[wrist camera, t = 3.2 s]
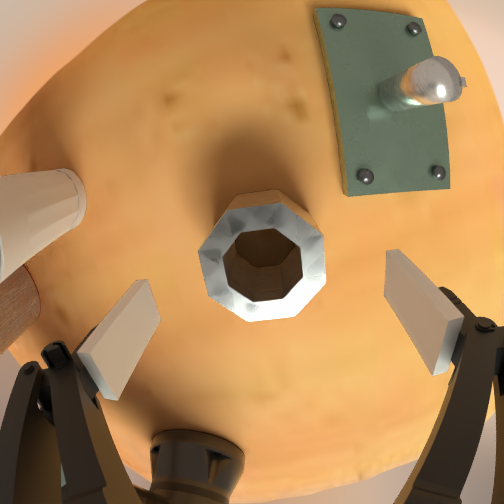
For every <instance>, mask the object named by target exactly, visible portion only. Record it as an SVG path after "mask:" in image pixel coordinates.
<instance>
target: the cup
mask: <svg viewBox="0 0 504 504" xmlns="http://www.w3.org/2000/svg"><path fill="white" fill-rule="evenodd" d="M86 205H87V198H86V192H85V188H84V185H83V183H82V181H81V180H80V178H79V177H78V176H77V174H75V173H74V172H73V171H71V170H69V169H66V168H61V169H56V170H48V171H38V172H28V173H20V174H12V175H5V176H0V283H1V282H2V281H4V280H5V279H6V278H7V277H8V276H9V275H11V274H12V273H13V272H14V271H15V270H16V269H18V268H19V267H20V266H21V265H23V264H24V263H25V262H26V261H28V260H29V259H30V258H32V257H33V256H34V255H36V254H37V253H38V252H40V251H41V250H42V249H44V248H45V247H46V246H48V245H49V244H50V243H52V242H53V241H55V240H56V239H57V238H59V237H60V236H62V235H63V234H65V233H66V232H68V231H69V230H71V229H73V228H75V227H76V226H78V225H79V224H80V222H81V221H82V219H83V217H84V215H85V212H86Z"/></svg>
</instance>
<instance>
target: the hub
mask: <svg viewBox="0 0 504 504" xmlns="http://www.w3.org/2000/svg"><path fill="white" fill-rule="evenodd" d="M270 228H275V229H276V230H278V231H279V232H281V233H282V234H283V235H285V236H286V237H287V238H289V239H290V240H291V241H293V242H294V243H295V247H294V248H293V250H292V251H291V252H290V253H289V254H288V256H287V257H286V258H285V259H284V260H283V262H282V263H281V264H280V265H273V266H265V267H257V268H256V267H255V266H253V265H252V264H250V263H249V262H248V261H246V260H245V259H243V258H242V257H240V256H239V255H237V252H236V247H235V240H236V238H237V237H238V236H239V234H240V233H241V232H248V231H255V230H263V229H270ZM198 254H199V259H200V263H201V267H202V271H203V276H204V280H205V284H206V288H207V292H208V296H209V297H210V298H212V299H213V300H215V301H217V302H218V303H220V304H221V305H223V306H224V307H226V308H227V309H229V310H230V311H232V312H234V313H235V314H237V315H238V316H240V317H241V318H243V319H245V320H246V321H257V320H266V319H276V318H284V317H292V316H295V315H296V314H297V313H298V312H299V311H300V310H301V309H302V308H303V307H304V306H305V305H306V304H307V302H308V301H309V300H310V299H311V298H312V297H313V296H314V295H315V294H316V293H317V292H318V291H319V290H320V288H321V287H322V286H323V285H324V284H325V283H326V272H325V255H324V241H323V234H322V233H321V231H320V229H319V228H318V226H317V225H316V223H315V221H314V220H313V218H312V217H311V215H310V214H309V213H308V212H307V211H306V210H304V209H303V208H302V207H300V206H299V205H298V204H297V203H295V202H294V201H293V200H291V199H290V198H289V197H287V196H286V195H285V194H284V193H282V192H281V191H280V190H278V189H274V190H266V191H259V192H252V193H245V194H238V195H236V196H235V198H234V199H233V200H232V202H231V203H230V205H229V206H228V207H227V209H226V210H225V212H224V213H223V214H222V216H221V217H220V218H219V220H218V221H217V223H216V224H215V225H214V227H213V228H212V230H211V232H210V233H209V235H208V236H207V238H206V239H205V241H204V242H203V244H202V245H201V247H200V249H199V250H198Z"/></svg>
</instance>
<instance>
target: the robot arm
mask: <svg viewBox="0 0 504 504" xmlns="http://www.w3.org/2000/svg"><path fill="white" fill-rule="evenodd" d="M384 297H385V298H386V300H387V301H388V303H389V304H390V306H391V308H392V309H393V311H394V312H395V314H396V315H397V317H398V319H399V320H400V322H401V323H402V325H403V327H404V328H405V330H406V332H407V333H408V335H409V337H410V338H411V340H412V342H413V343H414V345H415V347H416V348H417V350H418V352H419V354H420V355H421V357H422V359H423V361H424V362H425V364H426V366H427V368H428V370H429V371H430V373H431V375H432V376H434V375H438V374H441V373H444V372H447V371H448V368H449V365H450V362H451V361H452V363H453V364H454V366H455V369H454V371H453V374H452V376H451V379H450V381H449V384H448V385H449V387H448V390H447V393H446V396H445V399H444V401H443V404H442V407H441V410H440V412H439V415H438V417H437V420H436V422H435V425H434V427H433V429H432V432H431V434H430V436H429V439H428V441H427V443H426V445H425V447H424V449H423V451H422V453H421V455H420V457H419V459H418V461H417V463H416V465H415V467H414V469H413V471H412V473H411V475H410V476H409V478H408V480H407V482H406V484H405V485H404V487H403V489H402V490H401V492H400V494H399V495H398V497H397V499H396V500H395V502H394V503H393V504H461V503H462V500H461V499H460V494H461V491H462V489H463V486H464V484H465V481H466V478H467V476H468V474H469V471H470V468H471V465H472V462H473V460H474V457H475V454H476V451H477V447H478V444H479V441H480V437H481V433H482V430H483V426H484V422H485V418H486V414H487V409H488V404H489V399H490V394H491V388H492V382H493V385H494V395H495V409H496V438H497V439H496V466H495V478H494V488H493V495H492V502H491V504H504V326H502V327H497V325H496V324H495V322H493V321H492V320H491V319H488V318H485V317H476V316H475V315H474V314H473V313H472V312H471V311H470V310H469V309H468V308H467V306H466V305H465V304H464V303H462V301H461V300H460V299H459V298H457V296H456V295H455V294H454V293H453V292H452V291H450V290H448V289H447V288H445V287H439V288H438V287H437V286H436V285H435V284H434V283H433V282H432V281H431V280H430V279H429V278H428V277H427V276H426V275H425V274H424V273H423V272H422V271H421V270H420V269H419V268H418V267H417V266H416V265H415V264H414V263H413V262H412V261H411V260H410V259H408V258H407V257H406V256H405V255H404V254H403V253H402V252H401V251H400V250H399V249H396V250H389V251H386V270H385V288H384ZM160 321H161V317H160V315H159V312H158V309H157V306H156V303H155V300H154V297H153V294H152V291H151V288H150V285H149V282H148V279H144V280H136V281H135V282H134V283H133V285H132V286H131V287H130V288H129V289H128V290H127V292H126V293H125V294H124V295H123V296H122V297H121V299H120V300H119V301H118V302H117V303H116V304H115V306H114V307H113V308H112V309H111V310H110V312H109V313H108V314H107V315H106V316H105V318H104V319H103V320H102V321H101V322H100V324H98V325H97V326H96V327H94V328H93V329H92V330H91V331H90V332H89V333H88V335H87V337H85V338H84V340H83V342H81V343H80V345H79V346H78V347H77V348H76V350H75V351H74V352H73V353H72V355H71V354H70V353H69V351H68V349H67V347H66V345H65V343H64V342H62V341H55V342H52V343H50V344H48V345H47V346H46V347H45V348H44V349H43V350H42V352H41V356H42V358H43V359H44V361H45V363H46V364H47V366H48V367H49V368H48V369H42V368H41V367H40V365H39V364H38V362H36V361H31V362H27V363H26V364H24V365H23V366H22V368H21V369H20V370H19V373H18V375H17V378H16V381H15V384H14V387H13V389H12V393H11V395H10V398H9V402H8V405H7V408H6V411H5V415H4V419H3V422H2V426H1V430H0V504H229V499H230V496H231V494H232V492H233V490H234V489H235V487H236V485H237V483H238V481H239V479H240V477H241V475H242V473H243V471H244V464H245V456H244V454H243V452H242V451H241V450H240V449H239V448H238V447H237V446H235V445H234V444H232V443H230V442H228V441H226V440H224V439H221V438H219V437H216V436H213V435H209V434H206V433H201V432H196V431H189V430H168V431H163V432H160V433H158V434H157V435H156V436H155V437H154V439H153V442H152V445H151V447H150V460H151V473H152V483H151V487H150V490H149V491H148V490H146V489H143V488H141V487H139V486H137V485H134V484H132V482H131V480H130V479H129V476H128V474H127V472H126V470H125V468H124V465H123V463H122V461H121V459H120V456H119V454H118V451H117V449H116V447H115V444H114V442H113V439H112V436H111V434H110V431H109V428H108V426H107V423H106V420H105V417H104V414H103V411H102V408H101V405H100V402H99V400H98V398H97V397H96V393H97V392H98V390H99V391H100V392H101V394H102V395H103V397H104V398H105V399H111V400H118V399H119V397H120V395H121V393H122V391H123V390H124V388H125V386H126V384H127V382H128V380H129V378H130V376H131V374H132V372H133V370H134V369H135V367H136V365H137V363H138V361H139V359H140V357H141V356H142V354H143V352H144V350H145V348H146V346H147V345H148V343H149V341H150V339H151V337H152V335H153V334H154V332H155V330H156V328H157V327H158V325H159V323H160ZM37 402H38V404H39V405H40V406H41V407H40V409H39V408H38V404H37Z"/></svg>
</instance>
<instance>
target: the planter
mask: <svg viewBox="0 0 504 504" xmlns="http://www.w3.org/2000/svg"><path fill="white" fill-rule="evenodd" d="M39 314H40V299H39V295H38V292H37V289H36V286H35V284H34V282H33V279H32V278H31V276H30V274H29V273H28V271H27V270H26V268H25V267H24V266H23V265H21V266H20V267H19V268H18V269H16V270H15V271H14V272H13V273H12V274H11V275H9V276H8V277H7V278H6V279H5V280H4V281H2V282H1V283H0V355H2V354H3V352H4V351H5V350H6V349H7V348H8V347H9V346H10V345H11V344H12V343H13V342H14V341H15V340H16V339H17V338H18V337H19V336H20V335H21V334H22V333H23V332H24V331H25V330H26V329H27V328H29V327H30V326H31V325H32V324H33V323H34V321H35V320H36V319H37V318H38V317H39Z"/></svg>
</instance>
